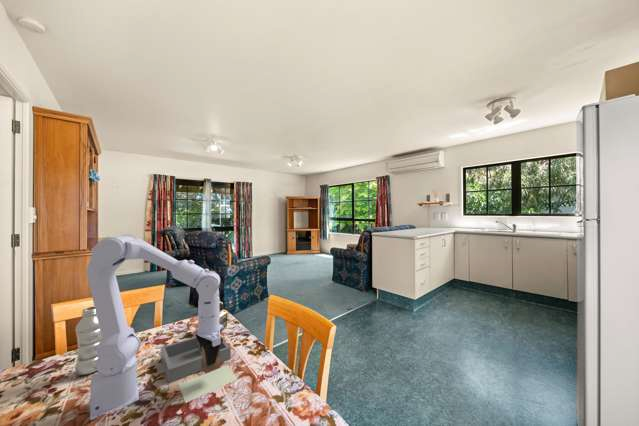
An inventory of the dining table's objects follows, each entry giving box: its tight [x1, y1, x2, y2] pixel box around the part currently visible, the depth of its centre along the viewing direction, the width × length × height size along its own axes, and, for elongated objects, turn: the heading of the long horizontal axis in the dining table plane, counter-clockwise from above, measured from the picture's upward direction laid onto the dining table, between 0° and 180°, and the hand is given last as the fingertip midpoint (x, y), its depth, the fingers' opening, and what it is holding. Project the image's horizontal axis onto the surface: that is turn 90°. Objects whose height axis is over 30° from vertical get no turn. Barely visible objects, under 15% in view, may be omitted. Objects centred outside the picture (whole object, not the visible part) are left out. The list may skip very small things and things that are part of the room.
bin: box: [160, 335, 232, 384], centre depth 81 cm, size 18×16×4 cm
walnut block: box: [202, 347, 221, 374], centre depth 70 cm, size 4×4×6 cm
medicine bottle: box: [219, 301, 228, 333], centre depth 103 cm, size 7×7×12 cm
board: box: [178, 364, 238, 404], centre depth 70 cm, size 14×9×1 cm, turn 131°
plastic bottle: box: [74, 306, 102, 376], centre depth 76 cm, size 6×7×20 cm
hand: (208, 360), depth 70 cm, fingers closed on walnut block, 4 cm apart
